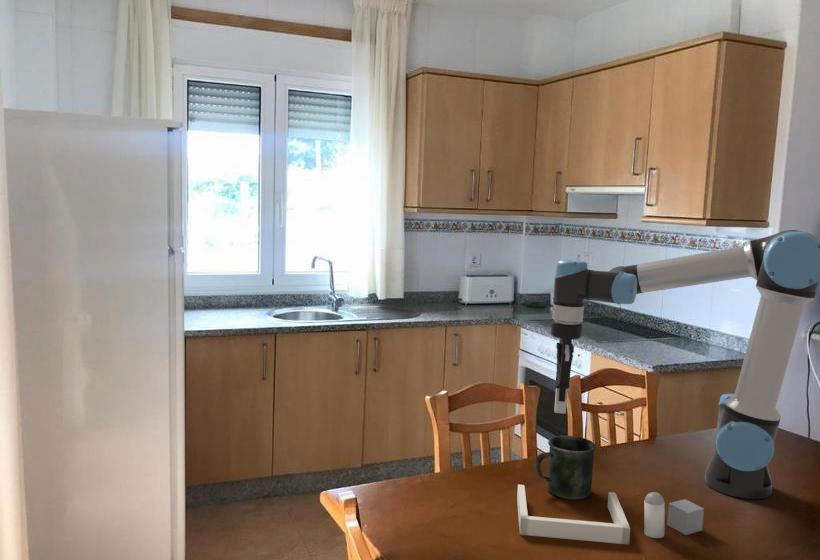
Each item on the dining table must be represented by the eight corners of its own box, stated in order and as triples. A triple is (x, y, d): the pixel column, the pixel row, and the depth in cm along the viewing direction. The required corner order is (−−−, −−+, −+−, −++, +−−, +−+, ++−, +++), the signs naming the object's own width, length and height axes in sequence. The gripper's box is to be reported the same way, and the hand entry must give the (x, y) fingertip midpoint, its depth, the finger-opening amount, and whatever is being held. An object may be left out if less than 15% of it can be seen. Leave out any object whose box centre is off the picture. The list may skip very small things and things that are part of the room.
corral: (614, 507, 155) (615, 492, 155) (628, 544, 139) (630, 528, 138) (517, 498, 158) (517, 484, 157) (519, 534, 141) (520, 518, 141)
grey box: (701, 530, 146) (704, 508, 145) (685, 535, 144) (687, 513, 143) (682, 520, 150) (684, 499, 150) (666, 525, 148) (668, 503, 147)
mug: (601, 499, 159) (605, 450, 158) (544, 504, 156) (547, 454, 154) (579, 480, 170) (582, 434, 168) (525, 484, 166) (527, 437, 164)
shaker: (657, 528, 146) (658, 488, 145) (668, 537, 142) (668, 495, 141) (640, 530, 145) (640, 490, 144) (650, 539, 141) (650, 497, 140)
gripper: (549, 315, 177) (543, 403, 180) (554, 325, 165) (547, 419, 168) (579, 317, 177) (572, 405, 180) (585, 327, 164) (578, 421, 167)
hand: (560, 412), depth 174 cm, fingers closed
